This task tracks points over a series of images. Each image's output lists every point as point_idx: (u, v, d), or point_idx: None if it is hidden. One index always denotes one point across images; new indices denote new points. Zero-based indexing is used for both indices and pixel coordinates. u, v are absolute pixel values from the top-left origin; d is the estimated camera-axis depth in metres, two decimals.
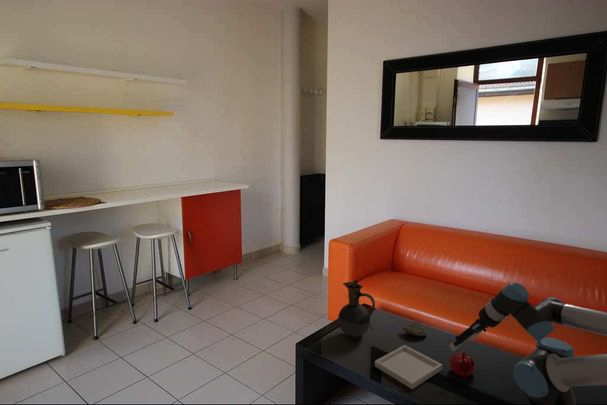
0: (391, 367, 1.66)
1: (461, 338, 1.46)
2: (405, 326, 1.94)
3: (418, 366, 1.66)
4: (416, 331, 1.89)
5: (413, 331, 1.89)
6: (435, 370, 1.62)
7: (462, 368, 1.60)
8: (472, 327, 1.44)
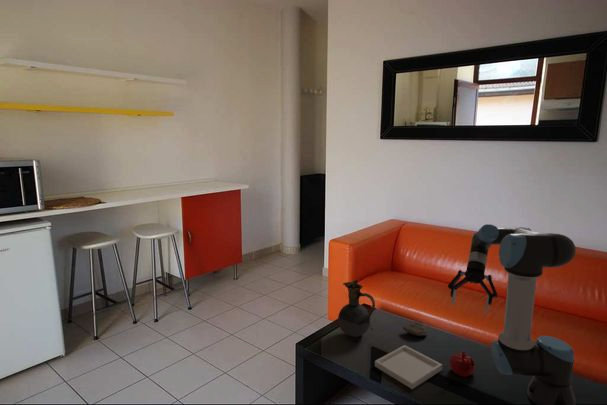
0: (391, 367, 1.66)
1: None
2: (405, 326, 1.94)
3: (418, 366, 1.66)
4: (416, 331, 1.89)
5: (413, 331, 1.89)
6: (435, 370, 1.62)
7: (462, 368, 1.60)
8: None
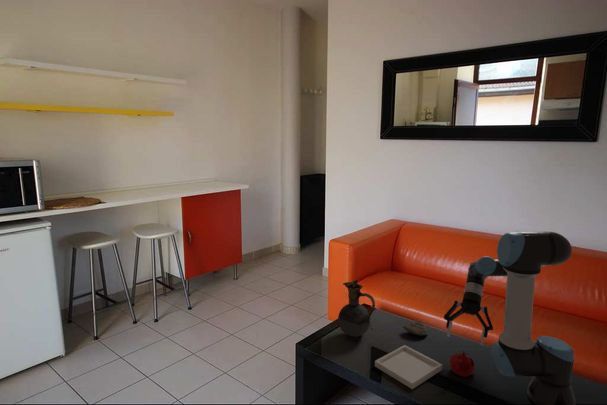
0: (391, 367, 1.66)
1: None
2: (406, 325, 1.95)
3: (418, 366, 1.66)
4: (416, 330, 1.90)
5: (413, 330, 1.90)
6: (435, 370, 1.62)
7: (462, 368, 1.60)
8: None
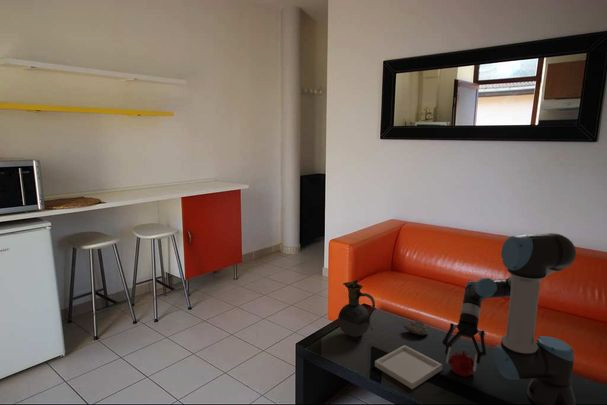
0: (391, 367, 1.66)
1: None
2: (406, 325, 1.95)
3: (418, 366, 1.66)
4: (417, 330, 1.90)
5: (414, 330, 1.90)
6: (435, 370, 1.62)
7: (462, 368, 1.60)
8: None
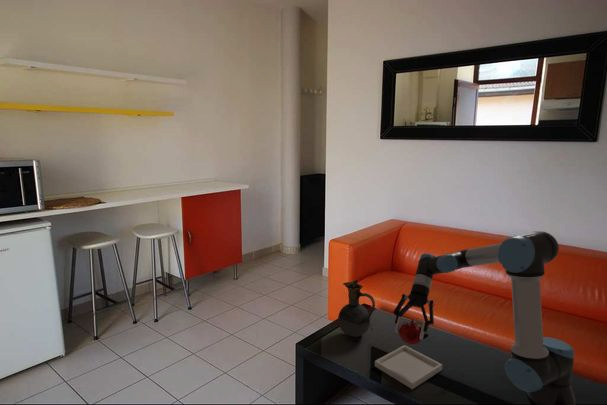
0: (391, 367, 1.66)
1: None
2: None
3: (418, 366, 1.66)
4: None
5: None
6: (435, 370, 1.62)
7: (410, 336, 1.62)
8: None
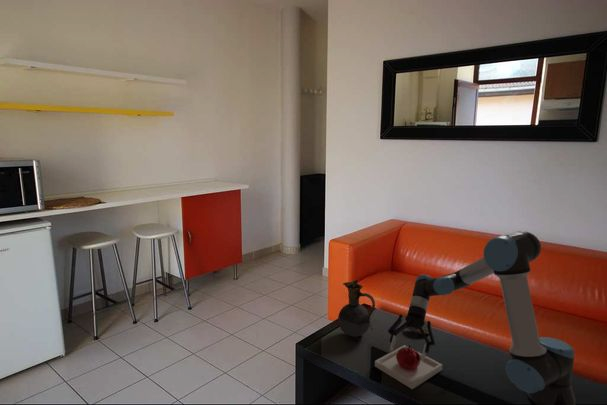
0: (391, 367, 1.66)
1: None
2: None
3: (418, 366, 1.66)
4: (418, 329, 1.91)
5: None
6: (435, 370, 1.62)
7: (407, 362, 1.64)
8: None
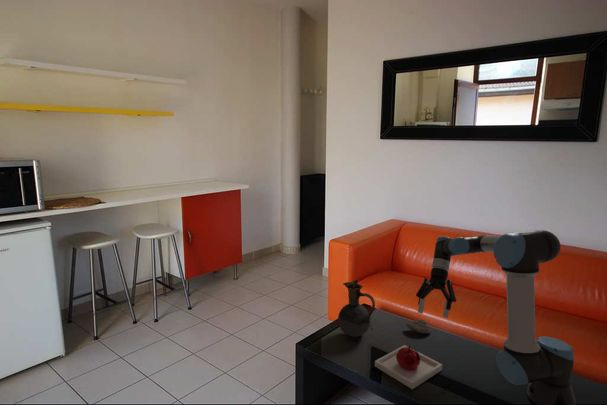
0: (391, 367, 1.66)
1: None
2: (409, 323, 1.97)
3: (418, 366, 1.66)
4: (418, 328, 1.92)
5: (415, 328, 1.92)
6: (435, 370, 1.62)
7: (407, 362, 1.64)
8: None
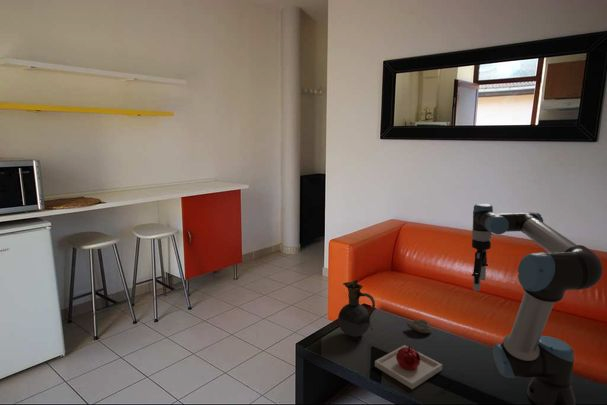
0: (391, 367, 1.66)
1: None
2: (409, 322, 1.97)
3: (418, 366, 1.66)
4: (419, 328, 1.92)
5: (416, 328, 1.92)
6: (435, 370, 1.62)
7: (407, 362, 1.64)
8: None
